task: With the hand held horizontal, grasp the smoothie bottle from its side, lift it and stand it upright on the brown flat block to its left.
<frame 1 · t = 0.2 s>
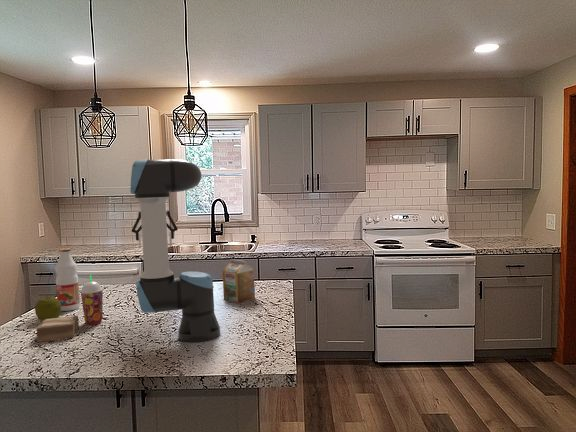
hand: (155, 247, 205), 27 cm above the worktop, tool pointing down, fingers open, 13 cm apart
smoothie: (94, 323, 184), on the worktop
apple: (49, 321, 190), on the worktop
fruit juice: (69, 308, 207), on the worktop
milk carton: (239, 299, 214), on the worktop
brown flat block: (59, 334, 171), on the worktop
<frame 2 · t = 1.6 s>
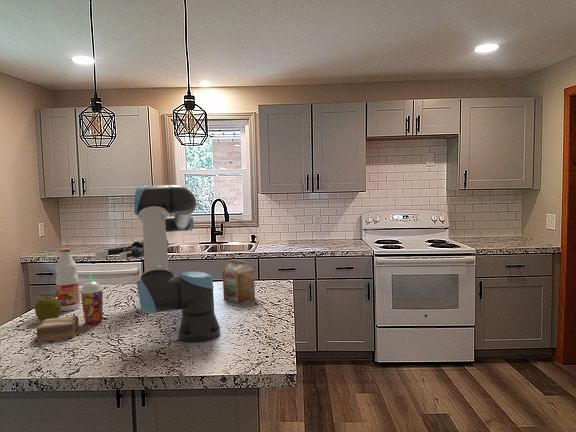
hand: (107, 256, 191), 26 cm above the worktop, tool horizontal, fingers open, 13 cm apart
nothing on the worktop moved.
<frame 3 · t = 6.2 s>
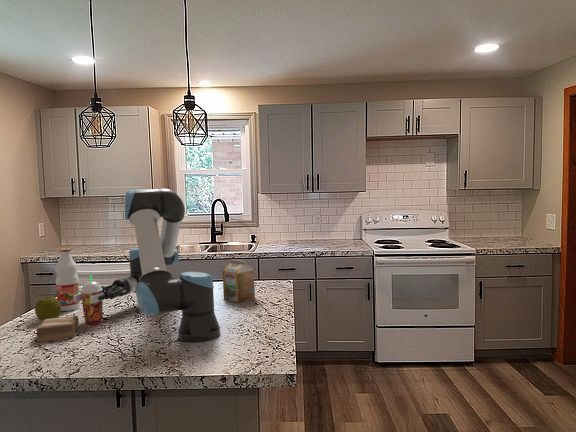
hand: (82, 299, 179), 11 cm above the worktop, tool horizontal, fingers closed on smoothie, 8 cm apart
smoothie: (94, 323, 184), on the worktop, touching gripper
everything else where it was.
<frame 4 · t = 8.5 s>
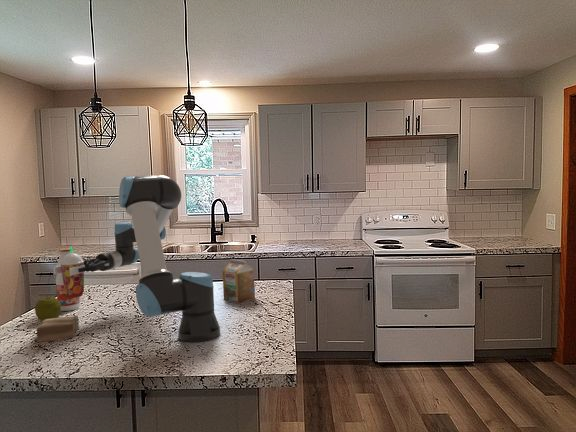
hand: (62, 271, 172), 24 cm above the worktop, tool horizontal, fingers closed on smoothie, 8 cm apart
smoothie: (74, 296, 178), point 13 cm above the worktop, touching gripper
everything else where it was.
when the fingers open (17 cm above the worktop, at t = 11.0 s): smoothie drops 1 cm, resting on brown flat block.
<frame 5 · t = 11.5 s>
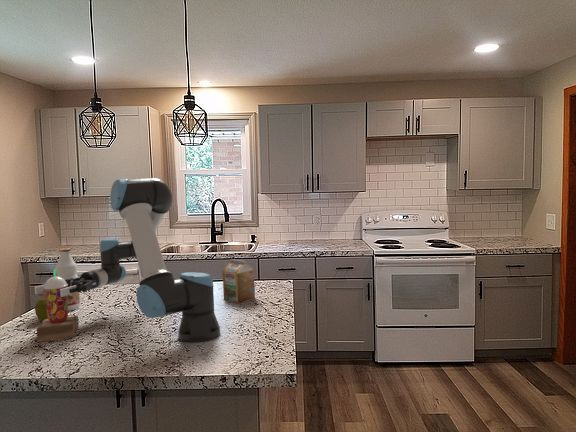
hand: (47, 291, 166), 17 cm above the worktop, tool horizontal, fingers open, 13 cm apart
smoothie: (58, 321, 170), point 5 cm above the worktop, touching brown flat block
everything else where it was.
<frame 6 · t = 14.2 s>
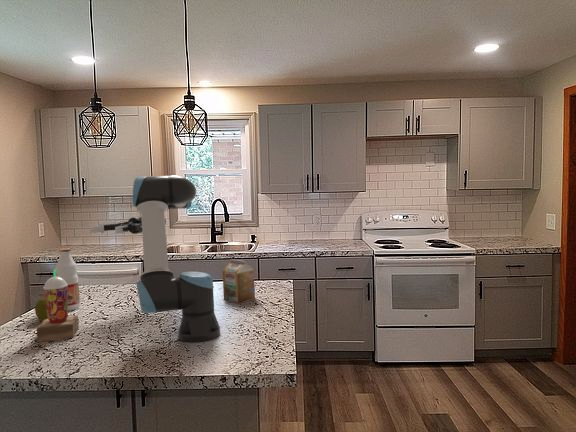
hand: (103, 230, 186), 38 cm above the worktop, tool horizontal, fingers open, 13 cm apart
nothing on the worktop moved.
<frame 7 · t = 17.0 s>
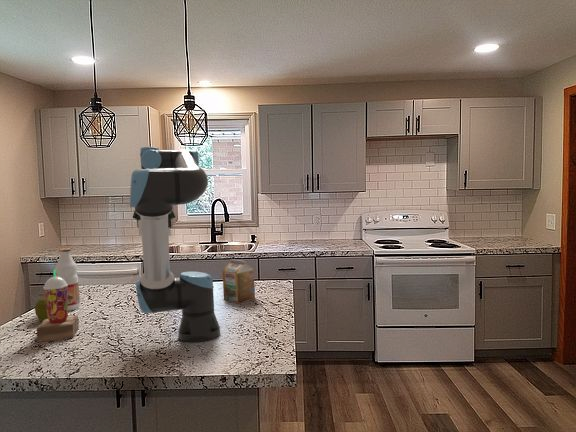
hand: (154, 235, 187), 35 cm above the worktop, tool pointing down, fingers open, 13 cm apart
nothing on the worktop moved.
at the end: smoothie inside the target area on the brown flat block (0.1 cm from its centre), point 5.1 cm above the brown flat block's base; smoothie tilted 0°; the gripper is holding nothing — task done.
